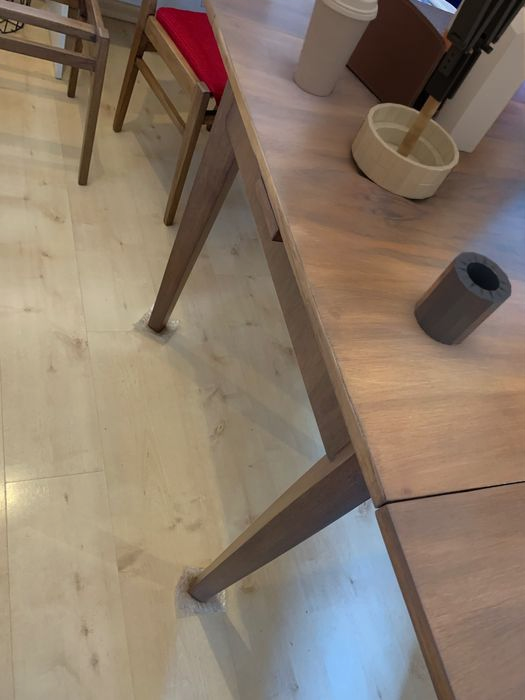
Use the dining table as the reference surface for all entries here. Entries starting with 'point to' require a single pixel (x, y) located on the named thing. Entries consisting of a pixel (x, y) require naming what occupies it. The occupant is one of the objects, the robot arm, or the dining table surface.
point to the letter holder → (399, 54)
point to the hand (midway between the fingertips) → (438, 94)
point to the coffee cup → (331, 42)
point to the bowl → (394, 169)
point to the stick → (419, 125)
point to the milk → (486, 88)
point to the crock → (462, 298)
